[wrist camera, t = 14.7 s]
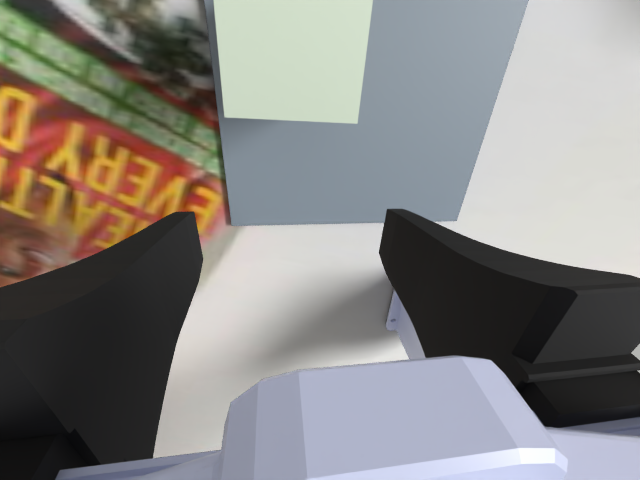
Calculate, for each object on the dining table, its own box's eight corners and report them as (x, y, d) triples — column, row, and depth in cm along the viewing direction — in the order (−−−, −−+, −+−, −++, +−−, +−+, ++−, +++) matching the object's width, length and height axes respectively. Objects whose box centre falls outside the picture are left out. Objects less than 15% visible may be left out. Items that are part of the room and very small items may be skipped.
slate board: (453, 218, 25) (457, 221, 24) (232, 223, 22) (231, 226, 22) (552, -91, 15) (560, -95, 15) (188, -144, 13) (185, -151, 12)
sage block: (334, 106, 14) (357, 123, 10) (238, 100, 13) (224, 117, 10) (345, -16, 12) (379, -52, 8) (229, -30, 11) (206, -76, 7)
